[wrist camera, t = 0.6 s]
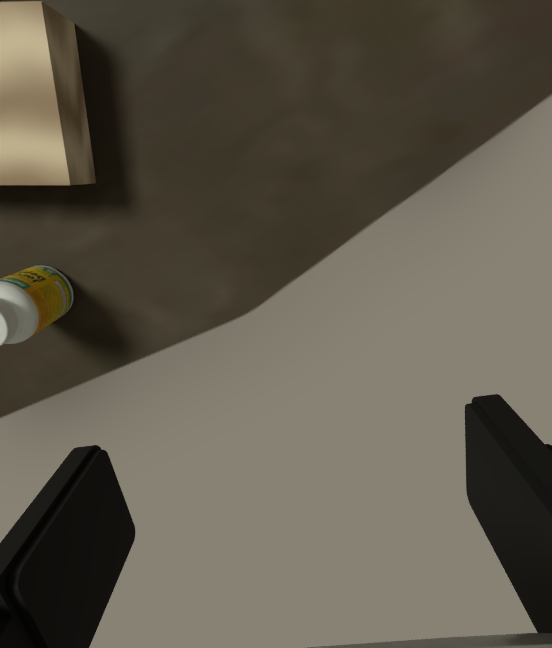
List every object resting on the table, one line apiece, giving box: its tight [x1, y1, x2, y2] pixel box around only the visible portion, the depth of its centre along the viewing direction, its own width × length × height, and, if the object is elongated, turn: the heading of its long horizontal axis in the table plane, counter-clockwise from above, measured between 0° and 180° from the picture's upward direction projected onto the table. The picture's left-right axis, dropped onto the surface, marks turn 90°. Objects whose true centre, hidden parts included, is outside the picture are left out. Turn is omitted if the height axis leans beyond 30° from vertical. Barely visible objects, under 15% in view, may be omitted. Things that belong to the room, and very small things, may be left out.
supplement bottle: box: [0, 266, 73, 346], centre depth 37 cm, size 5×5×10 cm
